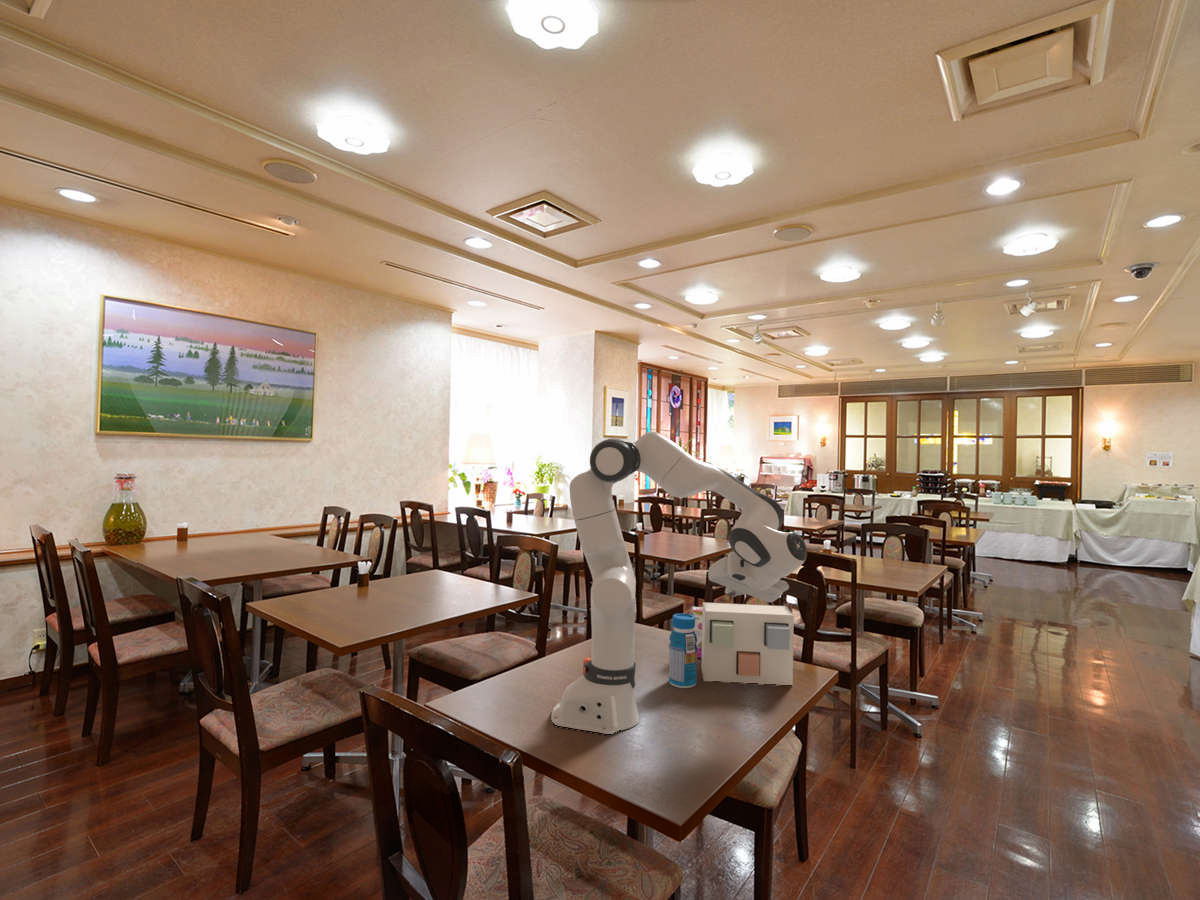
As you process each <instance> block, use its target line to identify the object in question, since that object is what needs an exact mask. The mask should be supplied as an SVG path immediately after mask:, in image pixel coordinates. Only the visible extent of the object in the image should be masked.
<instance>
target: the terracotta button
mask: <svg viewBox="0 0 1200 900" xmlns="http://www.w3.org/2000/svg"><path fill="white" fill-rule="evenodd" d="M759 662H760V656H759V654H758V652H744V651H737V654H736V669H737V671H736V673H738V675H748V676H759Z"/></svg>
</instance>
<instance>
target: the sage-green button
mask: <svg viewBox="0 0 1200 900" xmlns="http://www.w3.org/2000/svg"><path fill="white" fill-rule="evenodd" d="M733 634H734V626H733V624H732V621H727V620H711V642H712V646H728V647H733Z"/></svg>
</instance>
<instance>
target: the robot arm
mask: <svg viewBox="0 0 1200 900" xmlns="http://www.w3.org/2000/svg"><path fill="white" fill-rule="evenodd" d="M589 467H590V468H589V470H587V471H584V472H582V473H579V474H578V475H576V476H575V477H573V479H572V480H570V483H569V486H568V487H569V499H570V506H571V511H572V512H571V513H572V515H573V516H572V517H573V520H574V525H575V528H576V532H577V535H578V539H579V543H580V547H581V550H582V552H583V555H584V557H585V559H586V563H587V566H588V568H589V571H590V574H591V578H592V584H591V587H590V621H591V622H590V623H591V624H590V625H591V654H590V655H591V656H590V657H585V658H584V660H583V662H582V663H583V667H582V676H580V677H579V678H577V679H576V680H574V681H573V682H572V683H570V684H569V685H567V687H566V688H565V689H564V691H563V694H562V696H561V699H560V702H558V703H557V704H555V706H554V707H553V709H552V711H551V717H550V719H551V720H552V721H551V723H552V722H553V723H554V724H555V725H558V726H565V727H570V728H576V729H582V730H589V731H594V732H600V733H605V734H612V735H614V734H613V733H615V732H616V733H618V732H620V731H619V730H621V731H624V730H627V729H631V728H633V727H635V726H636V725H637V724H638V723H639V722H640V715H639V714H640V713H639V710H638V706H637V698H636V692H635V691H636V690H635V689H636V688H635V687H636V684H637V668H636V667H637V665H636V664H637V663H636V662H635V638H636V637H635V635H636V632H635V631H636V627H635V626H636V615H635V614H636V590H637V589H636V585H637V580H636V575H635V572H634V569H633V564H632V561H631V559H630V555H629V552H628V548H627V546H626V543H625V540H624V537H623V532H622V528H621V525H620V521H619V518H618V514H617V510H616V509H617V508H616V505H615V502H614V499H613V498H614V497H613V492H612V491H613V486H614V485H615V484H616V483H618V482H620V481H623V480H625V479H627V478H628V477H629V476H630V475H632V474H633V473H636V472H640V473H642V474H644V475H645V476H647V477H648V478H650V479H651V480H652V481H653V482H654V483H656V484H657V485H658V486H659V487H660V488H661V489H662V490H663V491H665V492H666V493H667V494H669V495H671V496H673V498H674V497H675V498H677V499H678V498H680V499H683V498H690V497H693V496H695V495H698V494H700V493H703V492H706V491H711V492H714V493H715V492H716V494H718V495H720V496H722V497H724V498H725V499H727V500H728V501H729V502H731V503H733V504H734V505H735V506H737V507H738V508H739V509H740V511H741V514H740V515H739V517H738V518H737V520H736V521H735V524H734V525H733V527H732V528H731V529H730V531H729V534H728V544H729V546H730V548H731V550H732V551H730V552H729V553H727V557H722V558H720V559H718V560H717V561H715V562H714V563H712V564H711V565H710V566H709V568H708V570H707V571H708V572H707V575H708V580H709V581H710V582H712V583H715V584H718V585H721V586H723V587H725V590H724V594H726V595H729V596H731V597H734V598H735V597H737V596H741V595H746V596H747V595H748V596H750V597H753V598H756V599H759V600H761V601H764V602H766V603H772V602H773V603H774V602H775V601H776V600H778V599H779V598H780V597H782V595H783V594H784V592H786V591H788V590H789V589H790V585H789V584H788V582H787V581H785V580H781V579H782V578H785V577H788V576H790V575H791V574H793V573H794V572H795V571H796V570H798V569H799V568H800V567H801V566H802V565H803V564H804V563H805V561H807V560H806V559H807V557H808V549H807V545H806V542H805V541H804V539H803V537H802V536H801V535H799V534H798V533H796V532H794V531H790V532H789V531H788V532H787V531H786V532H784V531H780V530H779V529H780V528H781V526H782V525H783V523H784V522H785V513H784V510H783V508H782V507H781V505H780V504H779V503H778V502H777V501H776V500H775V499H773V498H772V497H770V496H768V495H766V494H763V493H761V492H758V491H757V490H755V489H754V488H752V487H751V486H749V485H748V484H746V483H745V482H743V481H741V480H740V479H738V478H736V477H735V476H734V475H733V474H731V473H729V472H728V471H726V470H724V469H723V468H721V467H720V466H718V465H716V464H714V463H711V462H707V461H706V462H705V461H702V460H700V459H698V458H695V457H694V456H692V455H691V454H690V453H688V452H687V451H686V450H685V449H684V448H682V447H681V446H680V445H679V444H677V443H675V442H674V441H673V440H671V439H670V438H668V437H667V436H665V435H663V434H661V433H659V432H657V431H648V432H646V433H644V434H642V435H640V437H639V438H638V439H637V440H635V442H630V441H625V440H622V439H619V438H615V437H614V438H612V437H611V438H605V439H604V440H601V441H600V442H598V443H597V444H596V445H595V446H594V447H593V449H592V451H591V452H590V456H589ZM553 723H552V724H553ZM617 731H618V732H617ZM616 733H615V734H616Z"/></svg>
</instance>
